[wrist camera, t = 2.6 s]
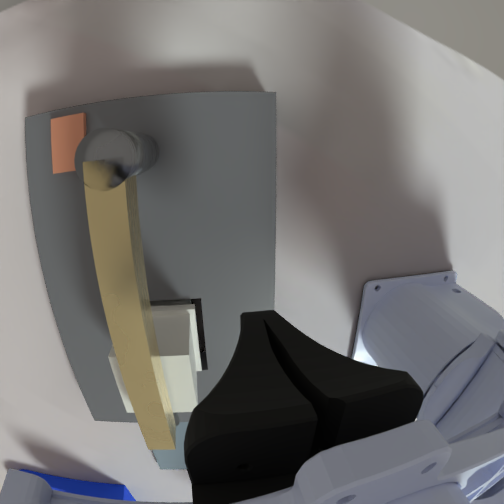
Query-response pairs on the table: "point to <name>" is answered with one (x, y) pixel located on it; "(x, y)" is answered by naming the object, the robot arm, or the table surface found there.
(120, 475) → the table surface
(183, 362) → the plug
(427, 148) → the table surface
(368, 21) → the table surface
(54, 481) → the bracket
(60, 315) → the grey panel
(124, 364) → the brass flat bar
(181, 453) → the mat
